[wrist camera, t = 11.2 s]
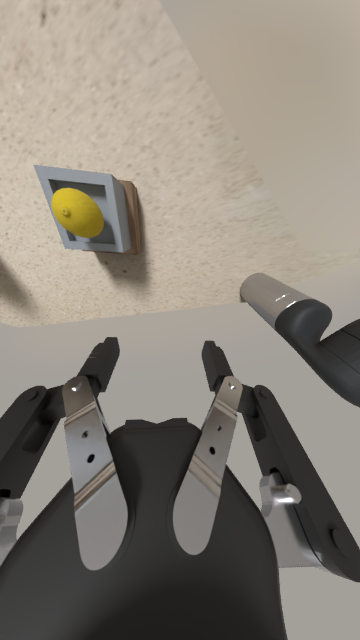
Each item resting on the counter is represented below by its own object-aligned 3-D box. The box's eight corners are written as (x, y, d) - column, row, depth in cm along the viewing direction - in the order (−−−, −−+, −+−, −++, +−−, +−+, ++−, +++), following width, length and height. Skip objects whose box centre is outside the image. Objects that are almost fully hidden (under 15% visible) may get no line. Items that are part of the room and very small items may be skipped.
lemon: (100, 244, 25) (77, 248, 18) (68, 218, 22) (27, 210, 15) (117, 218, 23) (98, 211, 16) (84, 186, 20) (46, 162, 14)
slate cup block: (123, 185, 24) (111, 174, 19) (131, 247, 30) (123, 252, 25) (64, 179, 23) (33, 164, 18) (84, 244, 29) (65, 248, 24)
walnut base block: (136, 188, 28) (130, 181, 24) (141, 251, 35) (137, 254, 31) (75, 180, 27) (58, 172, 23) (93, 247, 34) (82, 250, 30)
